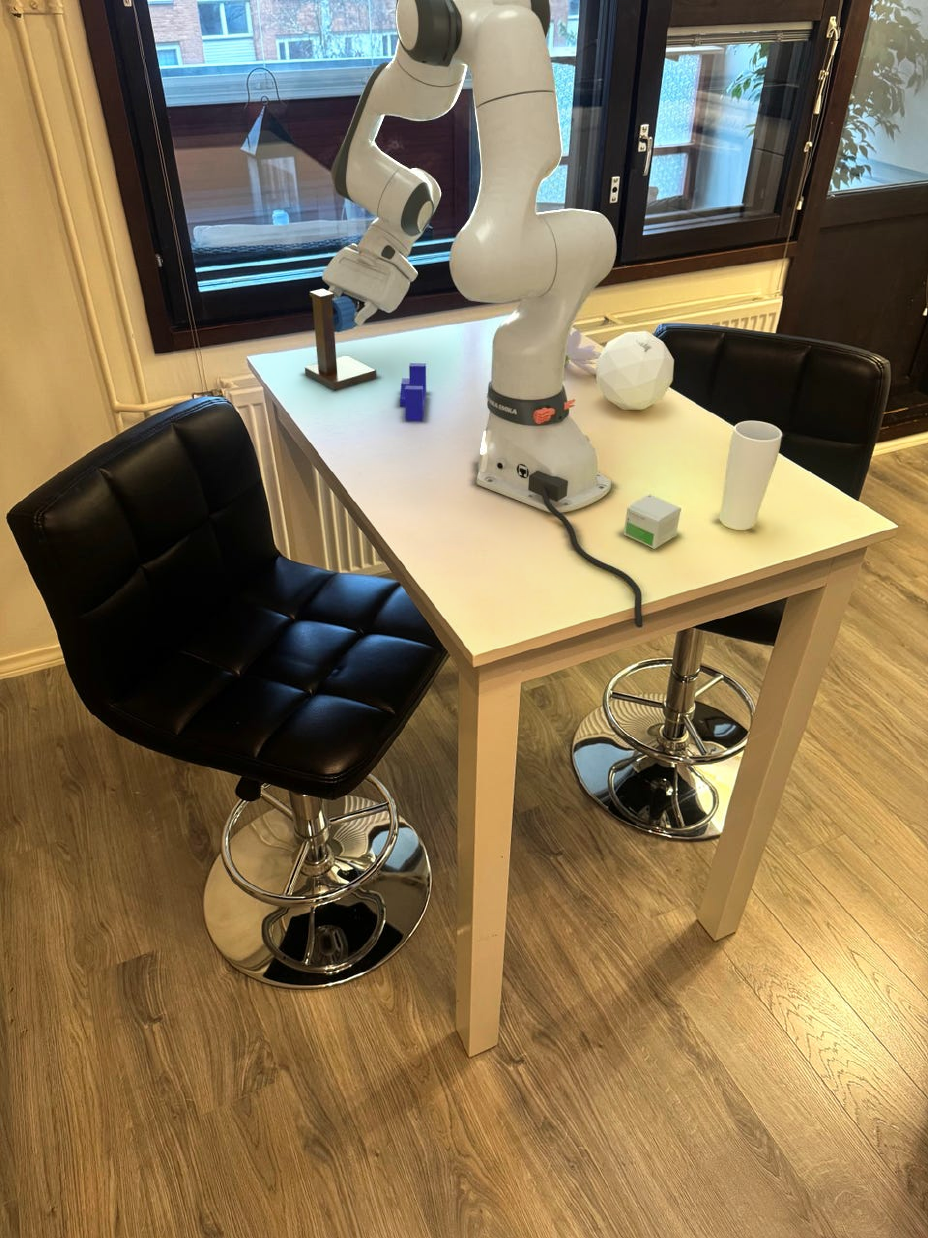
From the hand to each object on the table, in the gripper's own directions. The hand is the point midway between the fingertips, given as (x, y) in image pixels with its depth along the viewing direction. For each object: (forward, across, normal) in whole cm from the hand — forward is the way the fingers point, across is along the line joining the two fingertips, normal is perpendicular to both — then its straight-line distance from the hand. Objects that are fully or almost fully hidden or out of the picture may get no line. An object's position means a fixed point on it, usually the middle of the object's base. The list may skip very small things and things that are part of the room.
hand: (341, 316), depth 171 cm
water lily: (-17, +28, +34) cm, 47 cm away
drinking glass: (-1, +83, +18) cm, 85 cm away
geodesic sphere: (-15, +45, +32) cm, 57 cm away
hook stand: (+9, 0, +7) cm, 12 cm away
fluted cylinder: (+2, 0, +2) cm, 2 cm away
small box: (+8, +77, +8) cm, 78 cm away
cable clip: (+8, +20, +9) cm, 23 cm away
